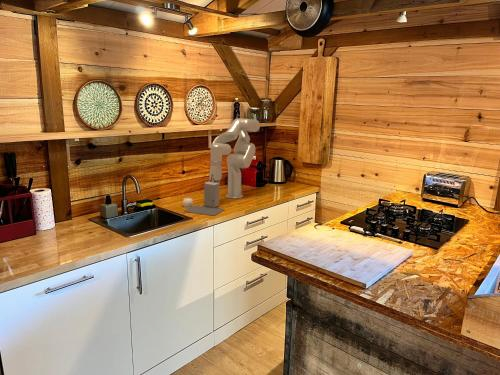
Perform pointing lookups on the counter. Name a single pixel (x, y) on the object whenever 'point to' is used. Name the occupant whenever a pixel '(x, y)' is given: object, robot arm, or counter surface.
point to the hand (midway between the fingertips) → (216, 190)
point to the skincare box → (211, 194)
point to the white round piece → (187, 202)
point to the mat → (204, 210)
